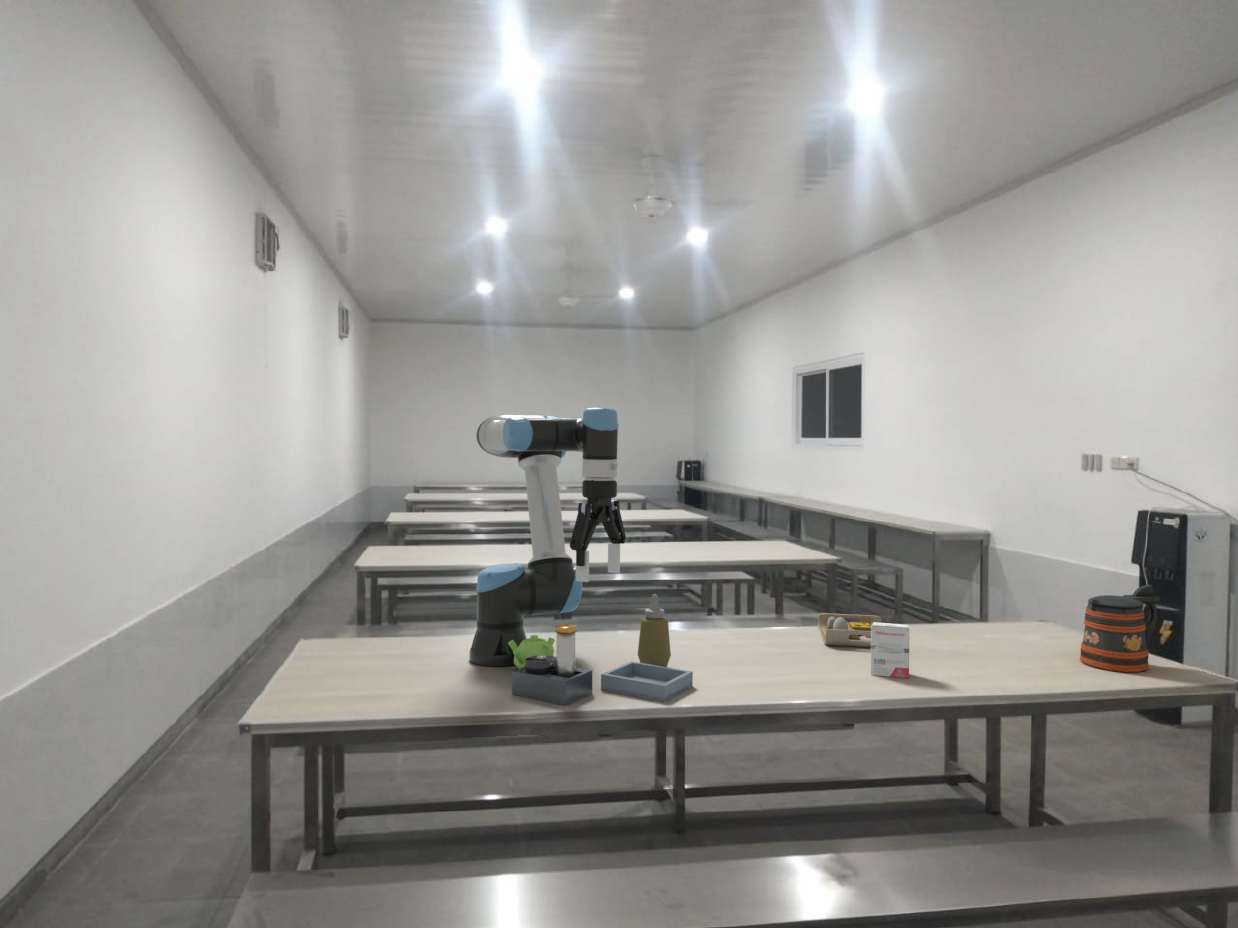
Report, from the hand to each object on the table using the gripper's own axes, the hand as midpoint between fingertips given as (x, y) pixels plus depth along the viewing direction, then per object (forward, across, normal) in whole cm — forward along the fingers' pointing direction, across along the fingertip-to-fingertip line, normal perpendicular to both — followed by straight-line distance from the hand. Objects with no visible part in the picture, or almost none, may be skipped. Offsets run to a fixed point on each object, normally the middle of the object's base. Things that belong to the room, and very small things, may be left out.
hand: (598, 576), depth 173 cm
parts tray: (+25, +8, -8) cm, 27 cm away
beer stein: (+25, +85, -102) cm, 135 cm away
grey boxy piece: (+25, -6, +8) cm, 27 cm away
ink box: (+25, +46, -53) cm, 75 cm away
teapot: (+26, +6, +22) cm, 34 cm away
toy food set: (+26, +79, -38) cm, 92 cm away
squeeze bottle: (+25, +22, -3) cm, 34 cm away
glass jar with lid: (+25, -7, +4) cm, 26 cm away
